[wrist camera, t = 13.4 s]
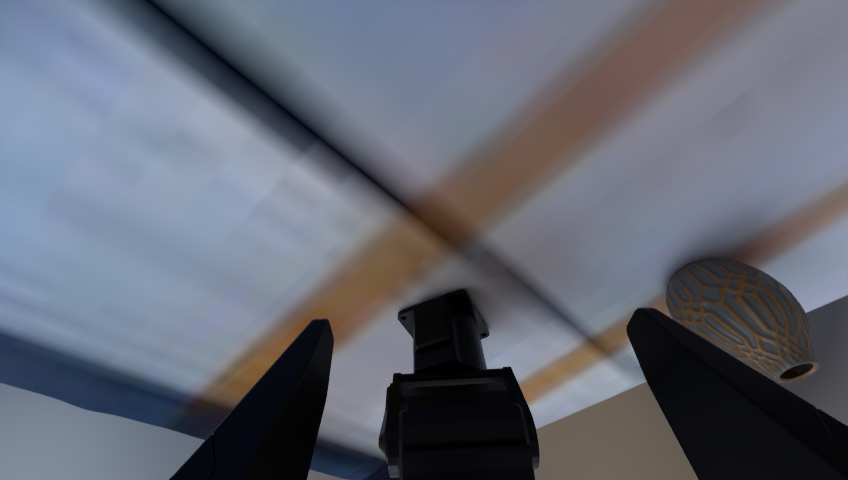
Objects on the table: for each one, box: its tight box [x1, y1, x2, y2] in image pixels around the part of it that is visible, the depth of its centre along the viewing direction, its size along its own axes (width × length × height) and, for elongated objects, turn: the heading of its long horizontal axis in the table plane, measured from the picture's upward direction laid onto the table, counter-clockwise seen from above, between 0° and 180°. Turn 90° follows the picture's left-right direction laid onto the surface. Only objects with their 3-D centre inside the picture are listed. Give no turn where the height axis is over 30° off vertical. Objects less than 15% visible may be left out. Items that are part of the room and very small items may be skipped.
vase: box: [666, 259, 820, 383], centre depth 23 cm, size 7×7×9 cm
